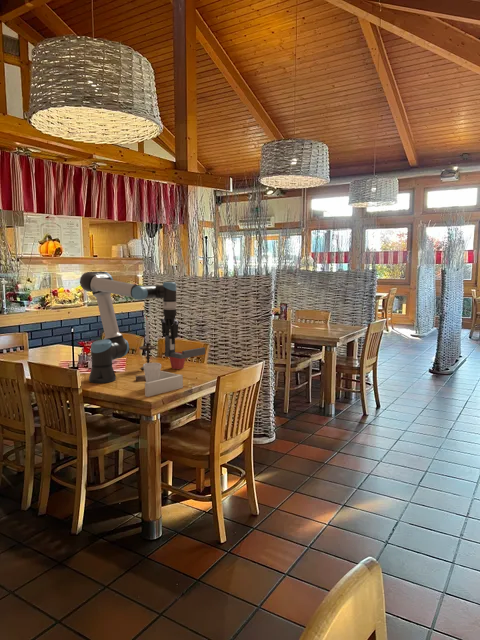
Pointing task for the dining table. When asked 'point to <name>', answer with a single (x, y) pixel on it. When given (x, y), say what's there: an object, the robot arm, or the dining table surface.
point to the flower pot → (177, 362)
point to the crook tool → (184, 353)
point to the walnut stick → (140, 378)
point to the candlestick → (147, 343)
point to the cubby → (164, 384)
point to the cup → (152, 371)
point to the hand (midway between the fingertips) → (170, 349)
